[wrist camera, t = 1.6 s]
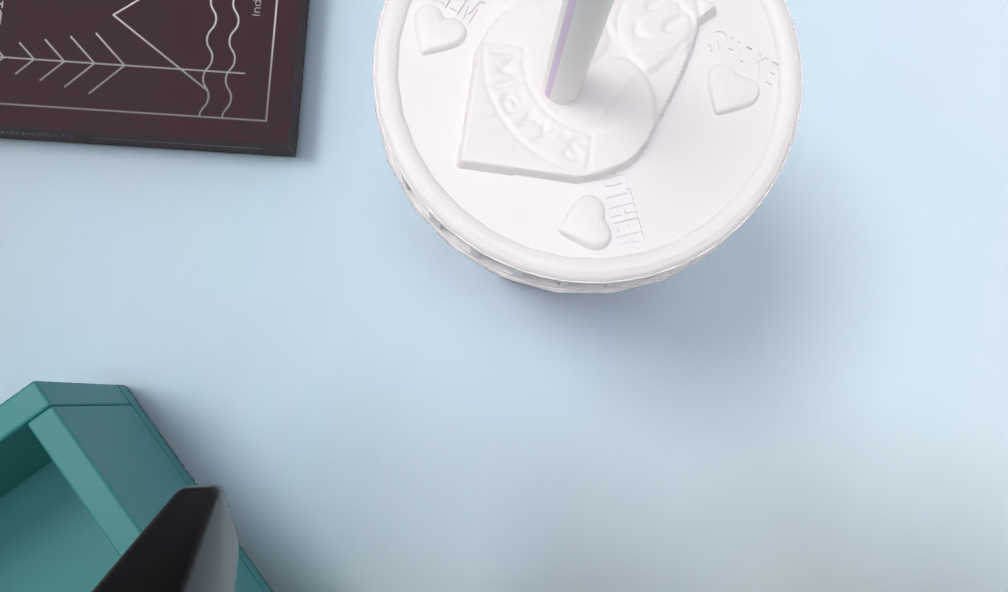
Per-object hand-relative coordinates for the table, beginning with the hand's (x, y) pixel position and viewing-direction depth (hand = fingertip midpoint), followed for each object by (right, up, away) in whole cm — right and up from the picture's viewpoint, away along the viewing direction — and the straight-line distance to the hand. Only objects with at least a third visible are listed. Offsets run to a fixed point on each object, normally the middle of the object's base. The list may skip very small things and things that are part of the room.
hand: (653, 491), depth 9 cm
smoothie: (-1, +4, +13) cm, 14 cm away
